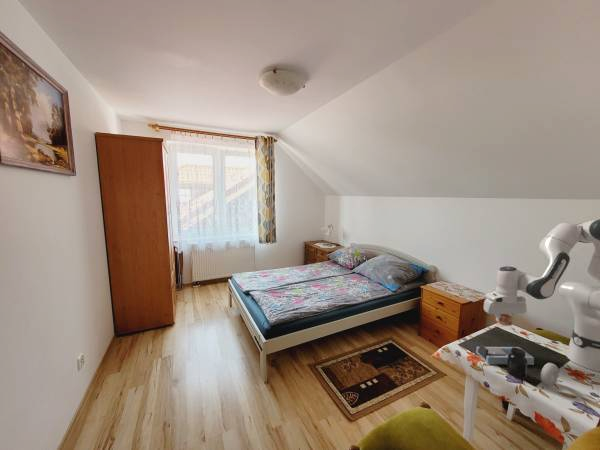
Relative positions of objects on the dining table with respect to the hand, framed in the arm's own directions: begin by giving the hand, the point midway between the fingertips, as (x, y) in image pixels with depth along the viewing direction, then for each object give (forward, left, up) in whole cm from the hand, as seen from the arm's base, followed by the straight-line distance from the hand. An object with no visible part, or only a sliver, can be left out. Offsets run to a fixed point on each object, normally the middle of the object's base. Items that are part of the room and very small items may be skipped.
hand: (503, 320), depth 129 cm
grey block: (+12, +9, -15) cm, 21 cm away
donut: (0, +26, -16) cm, 31 cm away
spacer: (0, 0, -2) cm, 2 cm away
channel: (+6, +9, -16) cm, 19 cm away
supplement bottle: (+9, +20, -16) cm, 27 cm away
